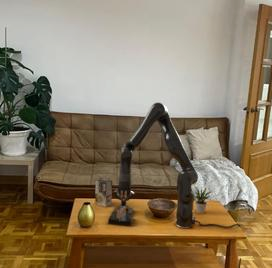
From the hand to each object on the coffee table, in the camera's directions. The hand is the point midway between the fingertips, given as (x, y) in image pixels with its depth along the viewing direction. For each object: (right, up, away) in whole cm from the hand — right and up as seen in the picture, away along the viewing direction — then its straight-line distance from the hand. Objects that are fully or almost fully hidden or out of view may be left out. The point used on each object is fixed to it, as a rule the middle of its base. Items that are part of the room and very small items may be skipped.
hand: (123, 206), depth 222 cm
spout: (-1, -3, -13) cm, 13 cm away
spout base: (-1, -6, -12) cm, 14 cm away
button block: (0, -4, +1) cm, 4 cm away
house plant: (+49, -6, +8) cm, 50 cm away
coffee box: (-14, -1, +13) cm, 19 cm away
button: (0, -2, 0) cm, 2 cm away
